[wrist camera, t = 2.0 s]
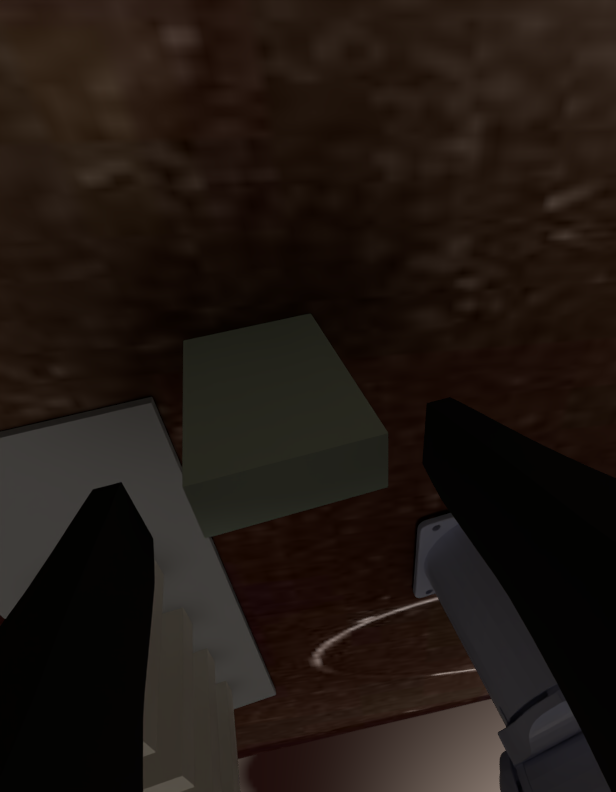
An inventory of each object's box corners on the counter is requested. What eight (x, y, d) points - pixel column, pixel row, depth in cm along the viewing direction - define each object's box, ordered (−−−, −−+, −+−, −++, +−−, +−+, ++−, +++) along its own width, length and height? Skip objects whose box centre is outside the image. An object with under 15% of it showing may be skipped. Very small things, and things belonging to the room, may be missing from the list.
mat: (151, 396, 15) (151, 402, 15) (275, 688, 31) (276, 694, 31) (-151, 466, 14) (-159, 474, 13) (143, 733, 30) (142, 740, 30)
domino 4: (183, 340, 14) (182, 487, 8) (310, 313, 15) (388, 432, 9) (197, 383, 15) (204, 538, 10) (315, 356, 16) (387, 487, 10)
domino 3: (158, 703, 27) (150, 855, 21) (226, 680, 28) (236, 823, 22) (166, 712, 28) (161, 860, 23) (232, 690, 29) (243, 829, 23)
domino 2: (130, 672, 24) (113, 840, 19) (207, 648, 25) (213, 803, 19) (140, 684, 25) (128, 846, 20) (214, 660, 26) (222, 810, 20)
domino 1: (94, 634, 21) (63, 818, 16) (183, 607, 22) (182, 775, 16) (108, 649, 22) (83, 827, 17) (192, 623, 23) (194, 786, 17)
